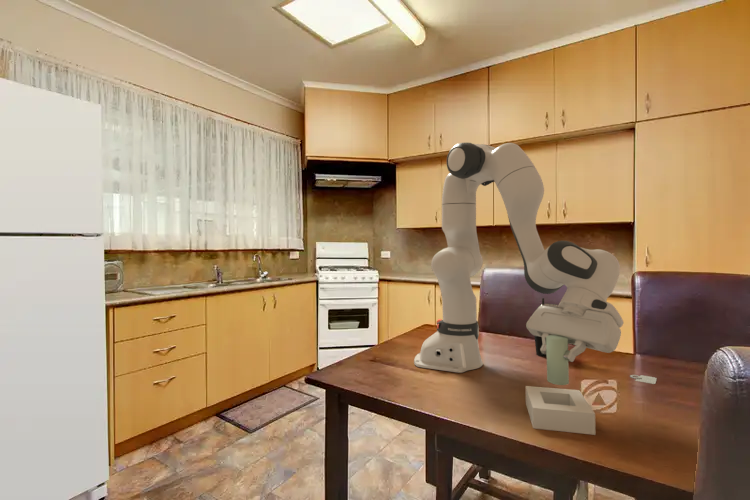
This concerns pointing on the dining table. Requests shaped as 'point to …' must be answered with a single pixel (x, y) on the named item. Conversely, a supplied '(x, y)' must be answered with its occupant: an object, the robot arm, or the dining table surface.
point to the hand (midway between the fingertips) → (555, 356)
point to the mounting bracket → (644, 379)
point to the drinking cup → (539, 342)
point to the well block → (559, 410)
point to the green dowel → (557, 360)
